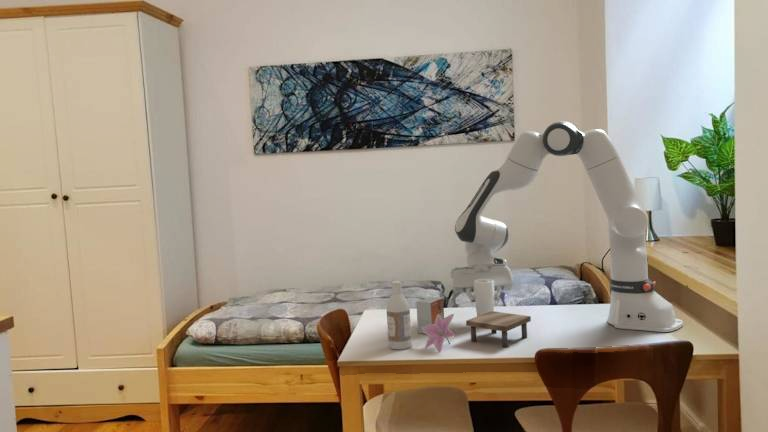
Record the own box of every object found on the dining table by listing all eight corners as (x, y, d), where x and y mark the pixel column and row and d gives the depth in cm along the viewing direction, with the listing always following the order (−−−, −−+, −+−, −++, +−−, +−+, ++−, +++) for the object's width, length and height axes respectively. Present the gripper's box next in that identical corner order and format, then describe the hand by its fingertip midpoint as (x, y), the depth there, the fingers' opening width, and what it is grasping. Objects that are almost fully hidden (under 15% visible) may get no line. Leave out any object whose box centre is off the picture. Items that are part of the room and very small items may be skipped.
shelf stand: (531, 337, 205) (530, 316, 204) (506, 348, 194) (505, 326, 194) (492, 331, 214) (491, 311, 214) (467, 341, 204) (466, 320, 203)
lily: (422, 345, 207) (411, 322, 203) (455, 327, 208) (445, 304, 204) (436, 367, 196) (425, 343, 192) (471, 348, 198) (461, 324, 193)
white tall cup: (495, 327, 218) (493, 282, 217) (474, 327, 219) (472, 282, 218) (496, 322, 224) (494, 278, 223) (476, 322, 226) (473, 278, 225)
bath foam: (384, 347, 203) (380, 282, 202) (402, 342, 207) (399, 278, 205) (397, 351, 198) (393, 285, 196) (416, 346, 202) (412, 281, 200)
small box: (432, 335, 214) (430, 302, 213) (417, 333, 217) (415, 301, 216) (445, 329, 220) (443, 297, 219) (431, 327, 223) (429, 296, 222)
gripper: (450, 262, 227) (453, 297, 219) (510, 259, 226) (516, 293, 218) (450, 273, 232) (453, 307, 223) (509, 270, 231) (514, 304, 222)
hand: (484, 300), depth 221 cm, fingers closed on white tall cup, 6 cm apart
